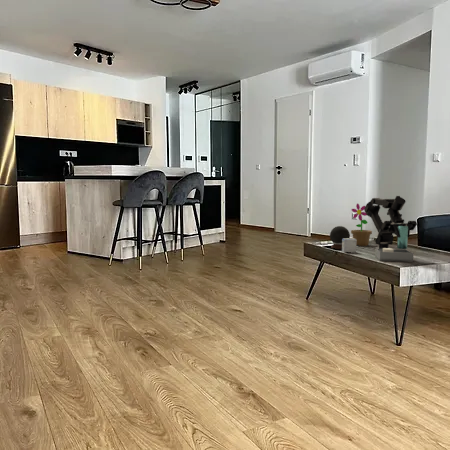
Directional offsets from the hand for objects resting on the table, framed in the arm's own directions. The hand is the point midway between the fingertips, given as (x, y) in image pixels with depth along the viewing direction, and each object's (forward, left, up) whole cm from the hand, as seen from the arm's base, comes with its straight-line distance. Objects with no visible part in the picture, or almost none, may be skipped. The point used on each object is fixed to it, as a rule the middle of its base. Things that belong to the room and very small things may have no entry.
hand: (403, 237), depth 234 cm
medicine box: (-28, -26, -14) cm, 40 cm away
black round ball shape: (-47, -30, -14) cm, 57 cm away
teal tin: (-1, 0, -7) cm, 7 cm away
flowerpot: (-67, -13, -14) cm, 69 cm away
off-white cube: (-4, -7, -12) cm, 15 cm away
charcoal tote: (-4, -4, -13) cm, 14 cm away
